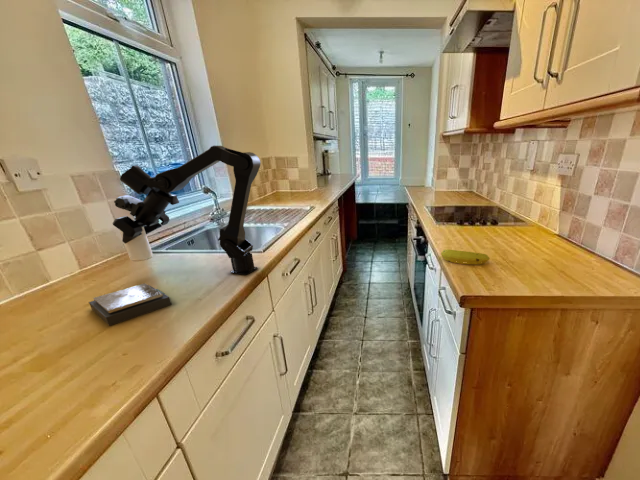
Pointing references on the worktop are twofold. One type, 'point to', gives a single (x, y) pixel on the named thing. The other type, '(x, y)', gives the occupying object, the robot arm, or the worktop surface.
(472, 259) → the banana
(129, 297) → the scale pan
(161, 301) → the scale
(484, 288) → the worktop surface
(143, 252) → the can
